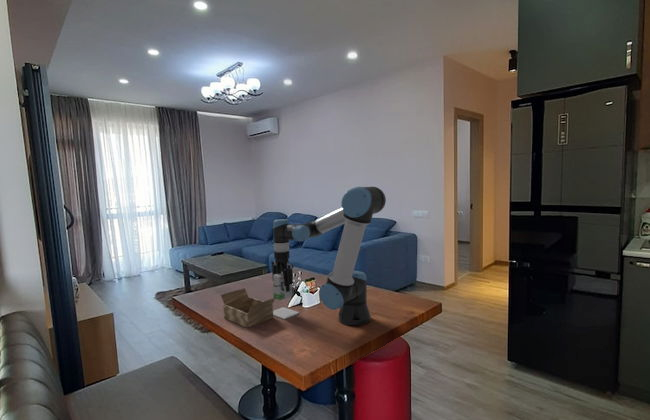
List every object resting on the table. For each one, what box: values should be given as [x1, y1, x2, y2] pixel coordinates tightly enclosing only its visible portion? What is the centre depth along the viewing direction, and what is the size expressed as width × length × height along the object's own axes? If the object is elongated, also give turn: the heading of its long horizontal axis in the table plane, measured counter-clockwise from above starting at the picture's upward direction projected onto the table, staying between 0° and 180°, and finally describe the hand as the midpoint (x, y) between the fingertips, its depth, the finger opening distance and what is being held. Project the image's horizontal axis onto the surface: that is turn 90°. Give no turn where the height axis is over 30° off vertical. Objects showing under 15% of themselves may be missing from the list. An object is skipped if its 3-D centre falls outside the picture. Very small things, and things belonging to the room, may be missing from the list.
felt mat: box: [273, 306, 300, 321], centre depth 170 cm, size 12×10×1 cm
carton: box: [220, 287, 276, 329], centre depth 166 cm, size 25×15×11 cm, turn 49°
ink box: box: [272, 272, 293, 301], centre depth 169 cm, size 9×5×12 cm, turn 138°
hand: (283, 296), depth 170 cm, fingers closed on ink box, 5 cm apart
